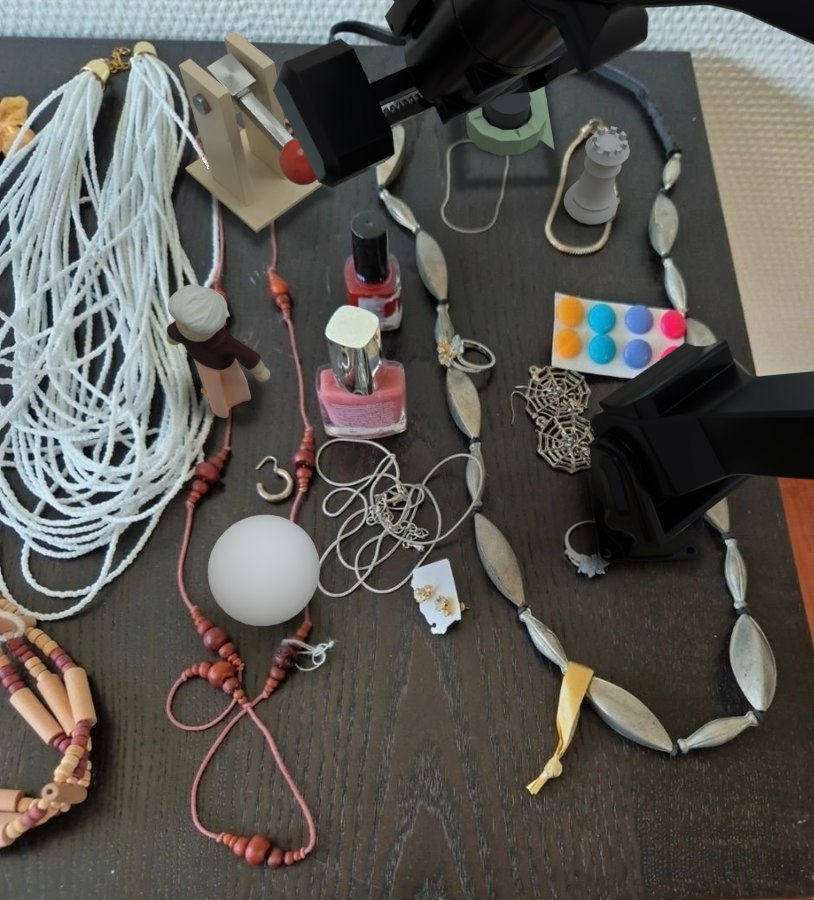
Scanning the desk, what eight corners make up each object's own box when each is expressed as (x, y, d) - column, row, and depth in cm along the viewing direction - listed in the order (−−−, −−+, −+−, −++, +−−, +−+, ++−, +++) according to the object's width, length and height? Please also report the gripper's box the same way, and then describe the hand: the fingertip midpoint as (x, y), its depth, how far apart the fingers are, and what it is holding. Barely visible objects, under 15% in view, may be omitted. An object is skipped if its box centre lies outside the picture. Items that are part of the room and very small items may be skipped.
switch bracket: (323, 193, 65) (307, 71, 54) (258, 240, 63) (228, 123, 52) (253, 134, 68) (224, 7, 57) (188, 178, 66) (146, 55, 55)
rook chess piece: (570, 241, 63) (592, 167, 56) (551, 199, 65) (570, 122, 57) (622, 229, 64) (651, 155, 56) (602, 188, 65) (627, 111, 58)
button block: (557, 182, 66) (562, 159, 63) (461, 185, 65) (463, 162, 63) (542, 87, 70) (547, 63, 68) (452, 89, 70) (454, 65, 68)
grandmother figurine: (173, 411, 57) (115, 310, 45) (192, 366, 58) (140, 258, 47) (275, 435, 56) (243, 338, 44) (291, 388, 57) (264, 284, 46)
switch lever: (331, 178, 58) (336, 152, 55) (298, 201, 57) (301, 177, 54) (236, 74, 58) (235, 44, 55) (202, 96, 57) (199, 66, 54)
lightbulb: (337, 562, 52) (321, 504, 42) (324, 655, 50) (304, 618, 39) (245, 553, 52) (209, 493, 42) (228, 645, 50) (184, 606, 40)
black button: (530, 130, 65) (533, 113, 63) (486, 131, 65) (488, 114, 63) (525, 98, 67) (528, 81, 65) (483, 99, 66) (485, 82, 65)
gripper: (597, -239, 37) (463, -59, 51) (242, -116, 32) (206, 44, 46) (684, -1, 39) (532, 106, 54) (367, 147, 34) (295, 220, 49)
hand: (398, 114), depth 51 cm, fingers open, 9 cm apart
